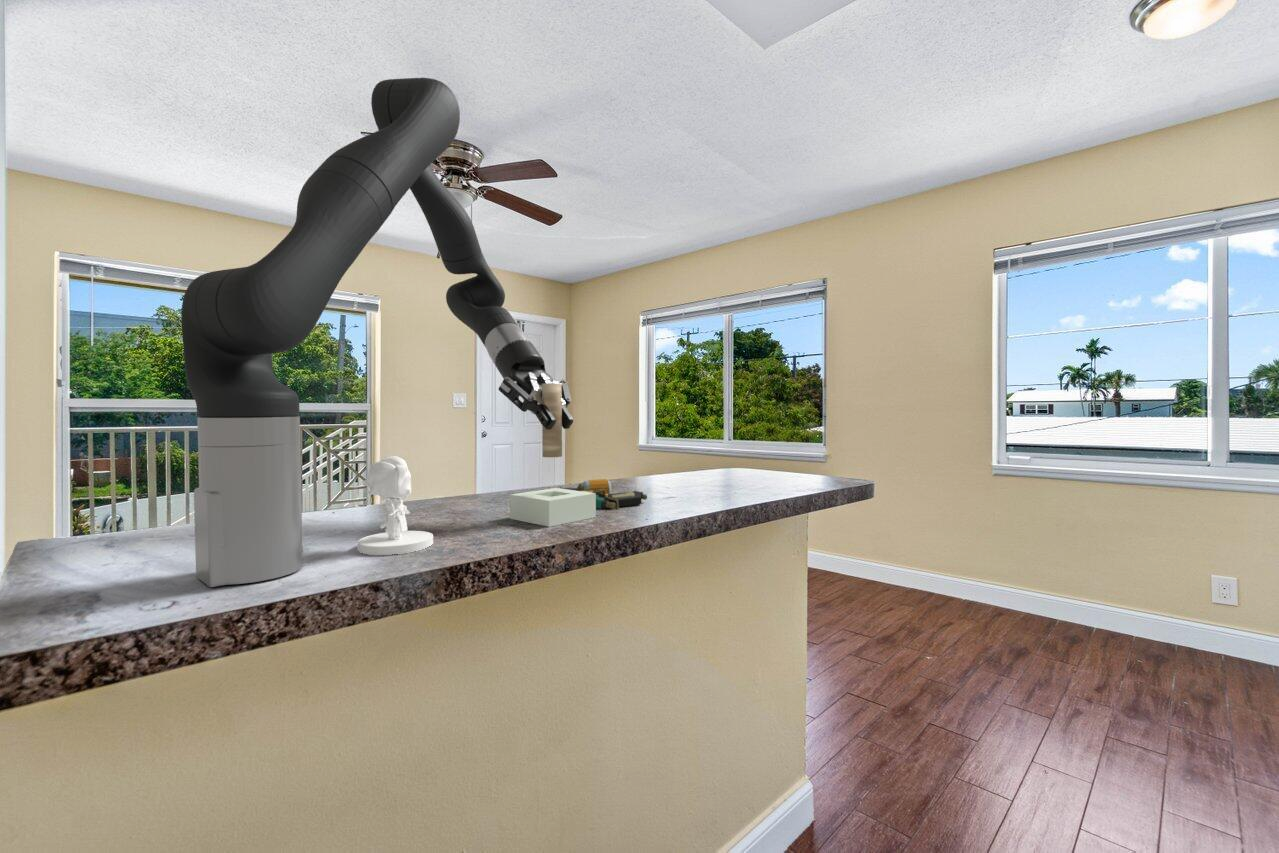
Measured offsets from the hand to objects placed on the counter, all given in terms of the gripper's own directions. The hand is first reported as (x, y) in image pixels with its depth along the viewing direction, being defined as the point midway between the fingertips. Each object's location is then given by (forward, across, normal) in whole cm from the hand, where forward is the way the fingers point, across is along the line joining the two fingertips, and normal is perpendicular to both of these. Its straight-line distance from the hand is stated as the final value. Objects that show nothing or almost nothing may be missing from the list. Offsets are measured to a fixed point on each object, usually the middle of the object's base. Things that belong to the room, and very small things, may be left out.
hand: (560, 425), depth 91 cm
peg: (+2, 0, +5) cm, 6 cm away
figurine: (+9, -26, +13) cm, 30 cm away
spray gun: (+6, +16, +16) cm, 24 cm away
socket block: (+10, 0, +12) cm, 16 cm away
